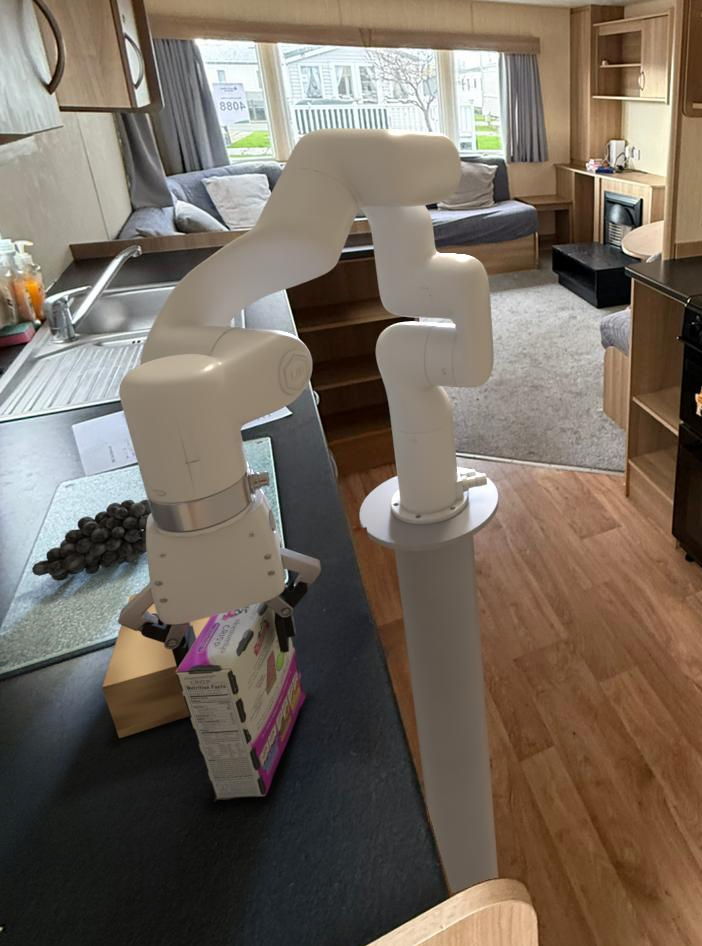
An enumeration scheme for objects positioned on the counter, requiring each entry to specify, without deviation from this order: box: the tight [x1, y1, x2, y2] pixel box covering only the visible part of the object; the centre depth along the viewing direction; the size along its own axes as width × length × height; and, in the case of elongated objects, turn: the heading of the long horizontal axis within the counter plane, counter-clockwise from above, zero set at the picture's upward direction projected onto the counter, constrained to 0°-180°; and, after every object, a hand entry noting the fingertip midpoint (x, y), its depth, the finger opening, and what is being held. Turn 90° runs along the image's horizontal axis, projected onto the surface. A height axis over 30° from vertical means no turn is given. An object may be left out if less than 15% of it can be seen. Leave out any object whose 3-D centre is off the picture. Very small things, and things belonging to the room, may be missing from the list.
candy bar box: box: [176, 602, 306, 800], centre depth 63 cm, size 11×5×16 cm, turn 5°
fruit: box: [31, 498, 151, 582], centre depth 91 cm, size 9×8×15 cm
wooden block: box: [101, 593, 210, 739], centre depth 74 cm, size 13×14×7 cm
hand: (240, 654), depth 62 cm, fingers open, 7 cm apart
